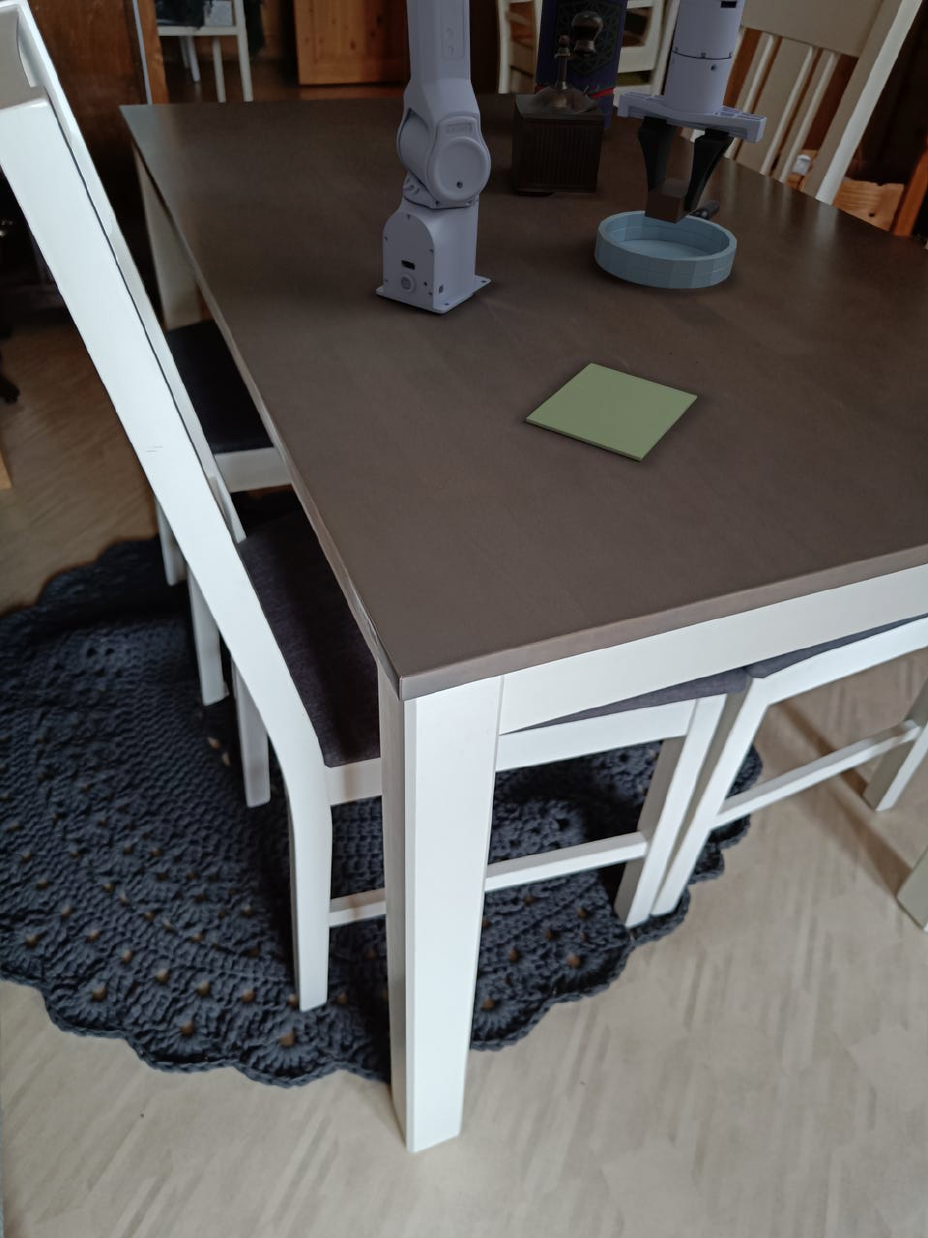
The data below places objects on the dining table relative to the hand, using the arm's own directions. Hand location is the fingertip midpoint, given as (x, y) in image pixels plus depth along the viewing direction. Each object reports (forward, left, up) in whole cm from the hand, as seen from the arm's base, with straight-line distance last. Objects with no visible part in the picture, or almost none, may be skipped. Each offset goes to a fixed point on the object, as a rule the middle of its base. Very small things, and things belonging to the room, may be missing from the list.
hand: (672, 204), depth 94 cm
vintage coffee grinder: (+20, +24, -7) cm, 32 cm away
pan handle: (+11, 0, -5) cm, 12 cm away
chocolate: (0, 0, -1) cm, 1 cm away
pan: (0, 0, -6) cm, 7 cm away
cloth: (-32, -9, -6) cm, 34 cm away
